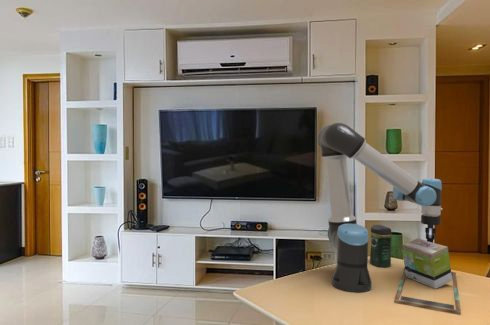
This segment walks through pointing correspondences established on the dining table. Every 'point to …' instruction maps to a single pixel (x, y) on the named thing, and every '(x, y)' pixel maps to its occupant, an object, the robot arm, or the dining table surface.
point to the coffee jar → (380, 246)
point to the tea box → (427, 262)
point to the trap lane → (429, 304)
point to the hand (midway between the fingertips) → (429, 269)
